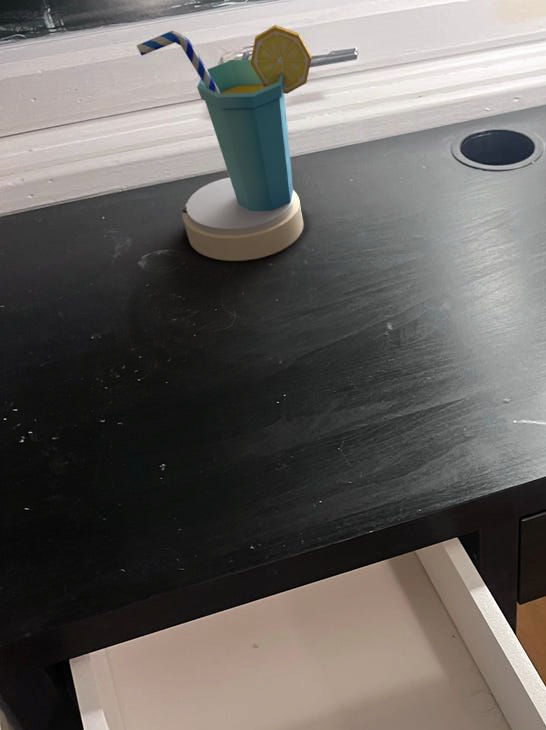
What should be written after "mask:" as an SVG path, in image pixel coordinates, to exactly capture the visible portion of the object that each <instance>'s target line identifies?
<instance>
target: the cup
mask: <svg viewBox="0 0 546 730" xmlns="http://www.w3.org/2000/svg"><path fill="white" fill-rule="evenodd" d="M173 44H176V45H179V46H180V47H181V49H182V50H183V52H184V53H185V55H186V56H187V58H188V60H189V61H190V63H191V65H192V66H193V68H194V70H195V71H196V73H197V74H198V76H199V78H200V80H199V82H198V84H197V87H196V88H197V91H198V93H199V96H200V99H201V100H202V101H204V102H205V105H206V108H207V111H208V114H209V117H210V121H211V123H212V126H213V129H214V133H215V136H216V139H217V142H218V145H219V149H220V152H221V154H222V157H223V161H224V164H225V167H226V171H227V174H228V176H229V177H230V180H231V183H232V186H233V189H234V192H235V195H236V198H237V201H238V204H240V205H242V206H243V207H245V208H247V209H248V210H250V211H273V210H275V209H277V208H279V207H282V206H284V205H286V204H288V203H290V202H291V198H292V194H293V190H294V186H293V175H292V173H293V172H292V163H291V162H292V161H291V152H290V143H289V142H290V141H289V132H288V130H289V129H288V119H287V107H286V97H285V95H288V94H289V93H291V92H293V91H294V90H295V91H296V89H298V88H300V87H302V86H303V85H306V84H307V81H308V78H309V77H308V76H309V72H310V68H311V63H312V58H313V57H312V55H311V53H310V51H309V49H308V48H307V45H306V44H305V42H304V40H303V38H302V37H301V35H300V33H299V32H296V31H294V30H291V29H288V28H285V27H282V26H280V25H277V24H274V25H273V26H271V27H269V28H268V29H266V30H265V31H262V32H261V33H259V34H257V35H256V36H255V37H254V42H253V48H252V54H251V57H250V58H251V59H231V60H228V61H225V62H223V63H220V64H218V65H215V66H212V67H209V68H207V67H206V66H205V64H204V63H203V60H202V59H201V57H200V55H199V53H198V52H197V51H196V48H195V47H194V46H193V43H192V42H191V40H190V39H188V38H187V37H186V36H185V35H183V34H182V33H181V32H177V31H175V30H170V31H168V32H166V33H163V34H161V35H158V36H156V37H153V38H151V39H148V40H146V41H144V42H141V43H139V44H136V48H137V50H138V52H139V54H140V55H141V56H145V55H148V54H150V53H153V52H155V51H157V50H160V49H162V48H165V47H168V46H170V45H173ZM229 177H228V178H229Z"/></svg>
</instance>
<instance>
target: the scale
mask: <svg viewBox="0 0 546 730" xmlns="http://www.w3.org/2000/svg"><path fill="white" fill-rule="evenodd" d="M181 211H182V221H183V223H184V228H185V231H186V235H187V238H188V241H189V244H190V246H191V248H193V249H194V250H195V251H196V252H197V253H199V254H201V255H203V256H205V257H208V258H210V259H215V260H220V261H229V262H231V261H232V262H234V261H235V262H236V261H237V262H238V261H248V260H249V261H250V260H256V259H261V258H266V257H267V256H268V257H269V256H270V255H274V254H277V253H279V252H281V251H283V250H285V249H286V248H288V247H289V246H291V245H292V244H294V242H296V241H297V240H298V239H299V237H300V236H301V234H302V232H303V230H304V218H303V213H302V208H301V203H300V198H299V195H298V194H297V192H296V191H295V190H294V189H293V194H292V198H291V202H290V203H288V204H286V205H284V206H282V207H279V208H277V209H275V210H273V211H250V210H248V209H247V208H245V207H243V206H242V205H240V204H238V201H237V198H236V195H235V192H234V189H233V186H232V183H231V180H230V177H225V178H221V179H218V180H215V181H212V182H210V183H208V184H206V185H204V186H202V187H201V188H199V189H197V190H195V192H194V193H192V195H190V197H189V199H188V200H187V202H186V204H184V207H183V209H182V210H181Z"/></svg>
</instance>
